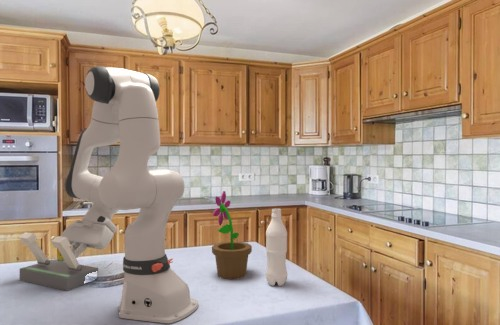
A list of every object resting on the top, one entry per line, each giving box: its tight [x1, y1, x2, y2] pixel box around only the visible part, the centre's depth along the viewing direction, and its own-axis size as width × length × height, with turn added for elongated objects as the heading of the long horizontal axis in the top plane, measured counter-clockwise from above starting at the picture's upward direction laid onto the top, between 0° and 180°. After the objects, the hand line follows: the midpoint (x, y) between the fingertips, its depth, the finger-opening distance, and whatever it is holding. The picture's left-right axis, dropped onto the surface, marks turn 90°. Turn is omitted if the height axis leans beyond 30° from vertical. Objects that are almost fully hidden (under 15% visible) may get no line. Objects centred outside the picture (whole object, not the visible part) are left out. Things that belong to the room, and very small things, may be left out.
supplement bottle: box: [56, 245, 71, 262], centre depth 146 cm, size 5×5×10 cm
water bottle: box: [265, 208, 288, 287], centre depth 119 cm, size 7×7×25 cm
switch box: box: [19, 259, 99, 292], centre depth 124 cm, size 24×12×4 cm, turn 65°
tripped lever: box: [50, 235, 82, 271], centre depth 118 cm, size 4×3×13 cm, turn 65°
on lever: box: [18, 231, 51, 265], centre depth 124 cm, size 4×3×13 cm, turn 65°
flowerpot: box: [211, 190, 253, 280], centre depth 129 cm, size 14×14×30 cm
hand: (72, 256), depth 119 cm, fingers closed, pressing on tripped lever
